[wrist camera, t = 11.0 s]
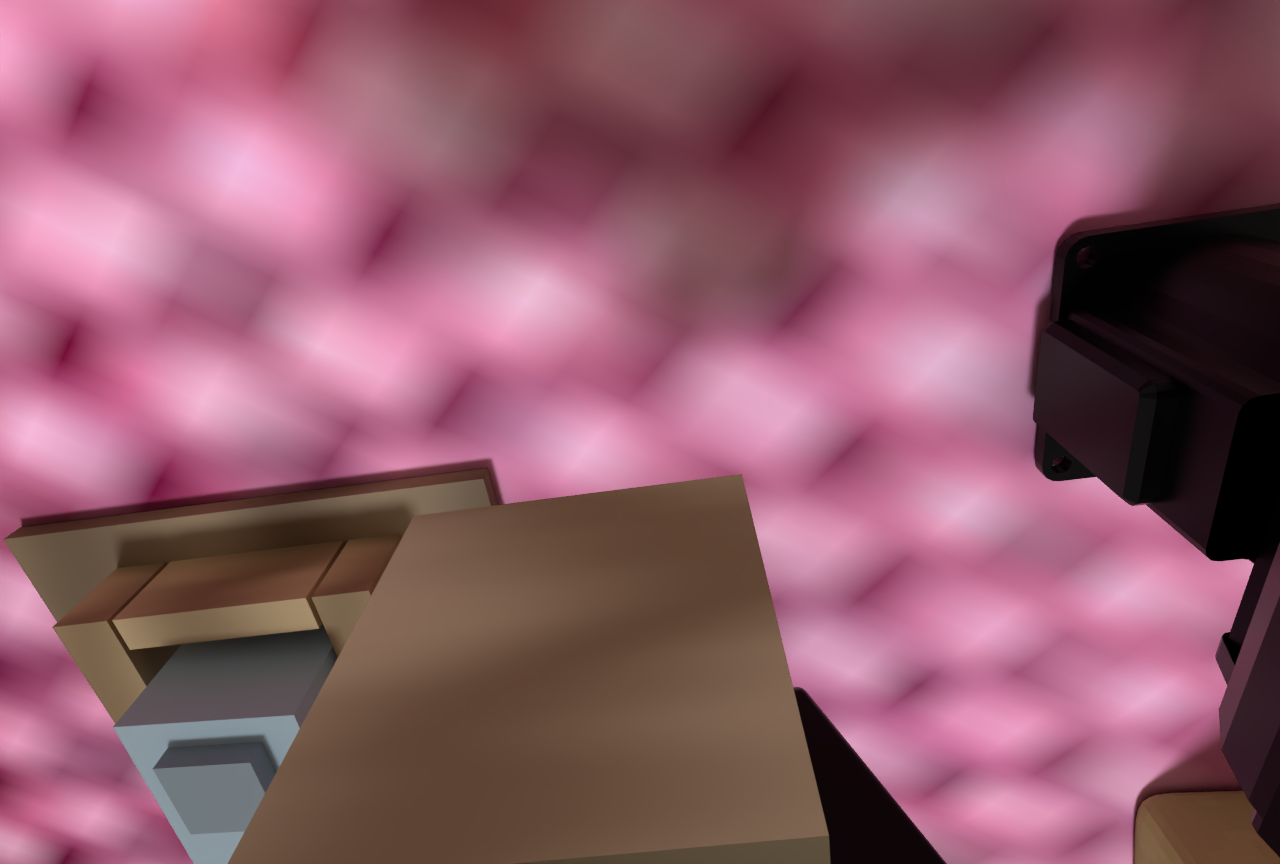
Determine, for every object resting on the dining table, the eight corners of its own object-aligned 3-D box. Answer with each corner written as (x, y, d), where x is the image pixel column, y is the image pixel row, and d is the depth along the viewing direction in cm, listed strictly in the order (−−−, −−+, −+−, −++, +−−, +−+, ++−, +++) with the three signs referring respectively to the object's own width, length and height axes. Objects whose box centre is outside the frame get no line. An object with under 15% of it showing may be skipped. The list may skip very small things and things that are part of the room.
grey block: (362, 593, 21) (282, 735, 16) (438, 817, 25) (392, 979, 21) (214, 604, 21) (95, 748, 17) (315, 824, 26) (242, 986, 21)
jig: (487, 468, 20) (461, 530, 17) (590, 839, 27) (583, 927, 24) (20, 527, 21) (-77, 596, 18) (235, 869, 28) (190, 957, 25)
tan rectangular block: (741, 474, 8) (828, 835, 4) (773, 788, 11) (850, 1209, 7) (413, 515, 9) (213, 890, 5) (515, 811, 11) (440, 1230, 7)
